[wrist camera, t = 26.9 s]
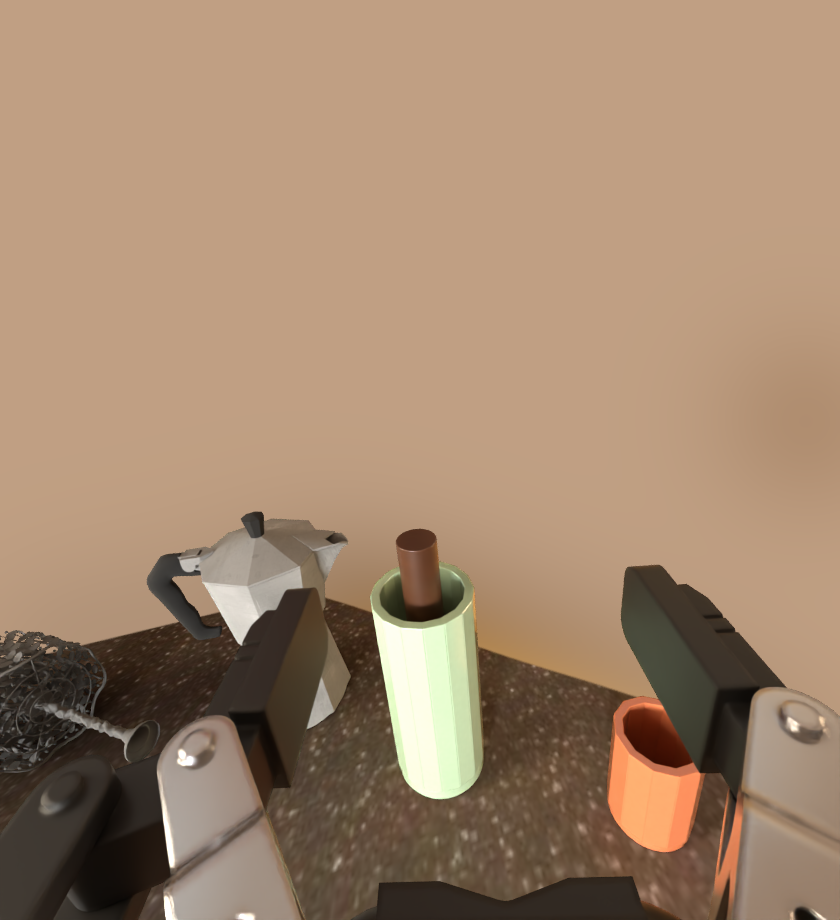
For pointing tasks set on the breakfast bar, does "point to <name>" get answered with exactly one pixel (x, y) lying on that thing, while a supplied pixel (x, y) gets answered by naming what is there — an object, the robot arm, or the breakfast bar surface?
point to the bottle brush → (420, 575)
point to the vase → (432, 684)
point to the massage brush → (54, 702)
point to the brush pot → (651, 777)
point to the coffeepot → (257, 585)
